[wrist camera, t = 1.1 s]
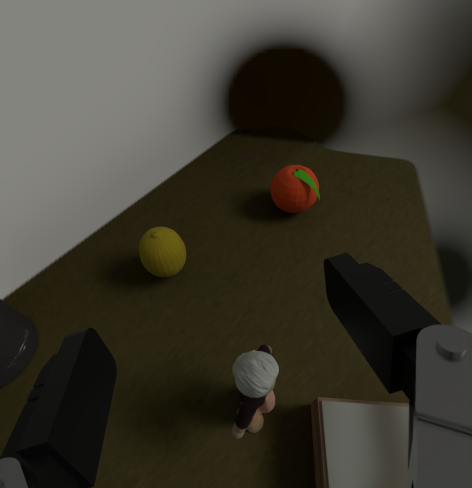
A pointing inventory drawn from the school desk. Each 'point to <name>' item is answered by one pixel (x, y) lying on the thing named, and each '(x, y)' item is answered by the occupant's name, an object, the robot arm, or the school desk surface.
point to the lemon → (162, 252)
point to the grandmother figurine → (254, 388)
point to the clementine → (294, 189)
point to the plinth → (359, 443)
